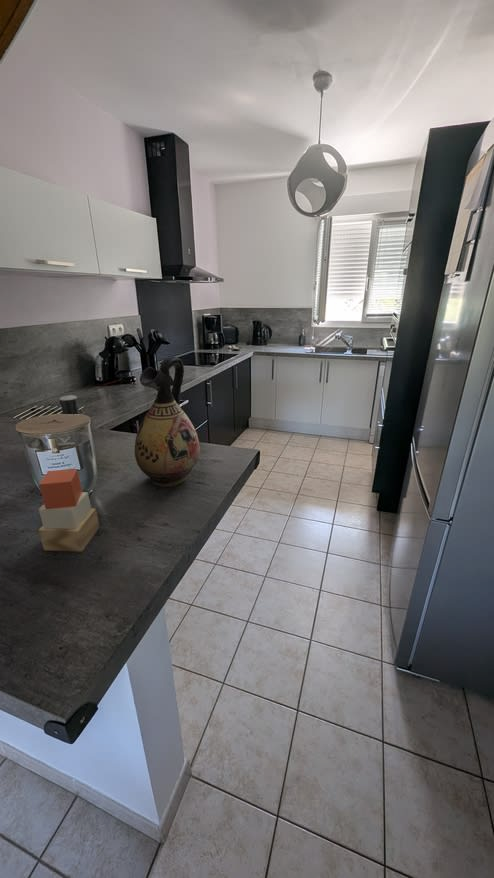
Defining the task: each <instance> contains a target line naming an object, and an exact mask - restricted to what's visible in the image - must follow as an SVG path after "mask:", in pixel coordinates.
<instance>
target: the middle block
mask: <svg viewBox="0 0 494 878" xmlns="http://www.w3.org/2000/svg"><path fill="white" fill-rule="evenodd" d="M91 508H92V506H91V501H90V497H89V492H87V491H82V493H81V496H80V498H79V500H78V503H77V505H76V506H71V507H62V508H53V509H46V508H45V504H44V503H43V504H42V505H41V506H40V507H39V508H38V513H39V515H40V520H41V523H42V526H43V527H44V528H62V529H76V528H77V527H78V526H79V525H80V523H81V522H82V521H83V520H84V518H85V517H86V516H87V515H88V514H89V512H90V511H91Z"/></svg>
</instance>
